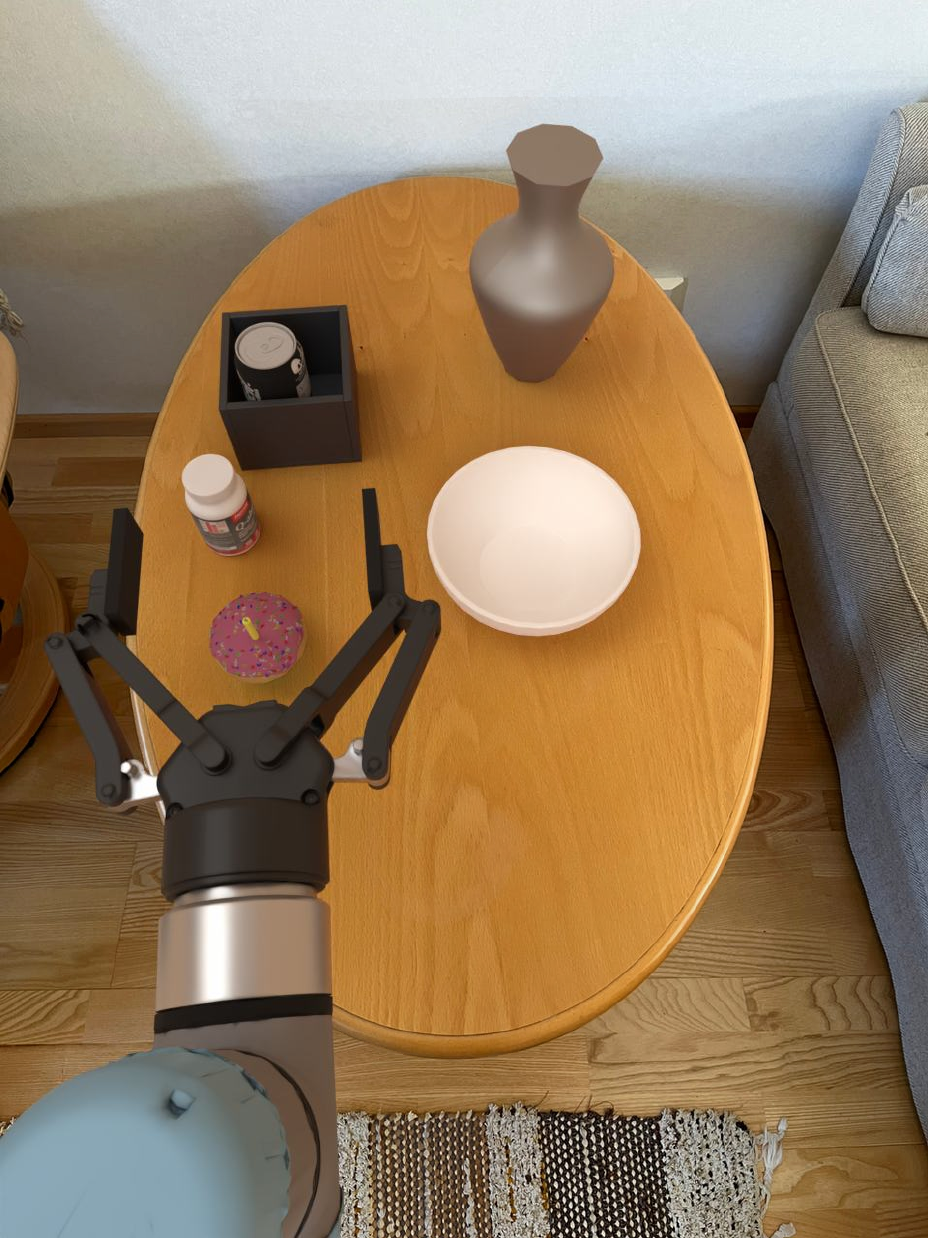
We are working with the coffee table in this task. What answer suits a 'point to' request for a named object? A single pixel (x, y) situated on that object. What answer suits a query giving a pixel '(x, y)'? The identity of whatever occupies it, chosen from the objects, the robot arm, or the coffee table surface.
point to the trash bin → (295, 424)
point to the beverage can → (271, 363)
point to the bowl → (533, 540)
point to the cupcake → (258, 637)
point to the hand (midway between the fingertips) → (250, 510)
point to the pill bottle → (220, 505)
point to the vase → (543, 256)
